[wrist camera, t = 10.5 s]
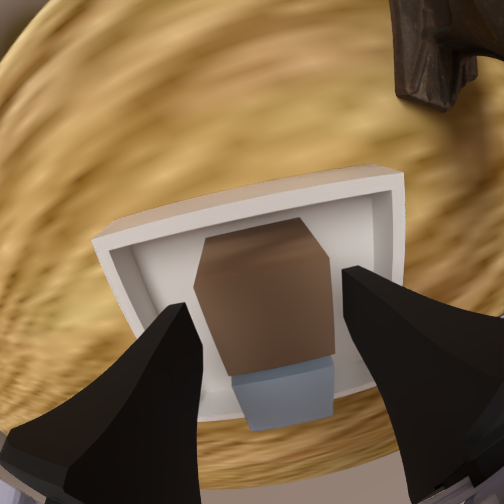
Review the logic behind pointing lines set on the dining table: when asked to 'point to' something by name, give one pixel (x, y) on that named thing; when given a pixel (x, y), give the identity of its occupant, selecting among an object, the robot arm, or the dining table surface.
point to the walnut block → (267, 296)
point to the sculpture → (442, 46)
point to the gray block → (286, 394)
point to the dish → (246, 216)
